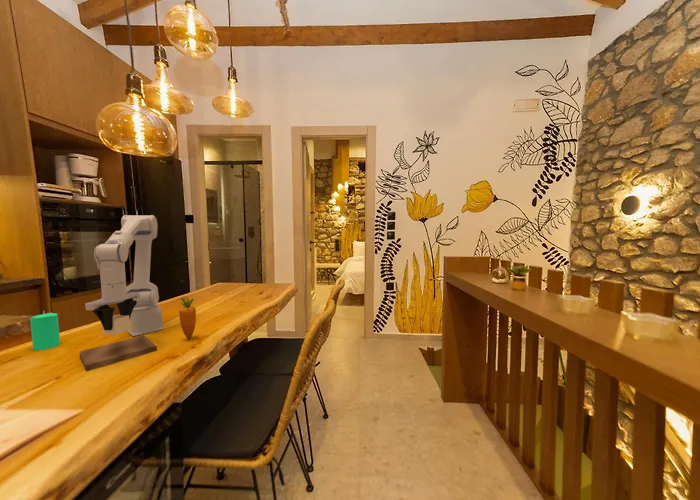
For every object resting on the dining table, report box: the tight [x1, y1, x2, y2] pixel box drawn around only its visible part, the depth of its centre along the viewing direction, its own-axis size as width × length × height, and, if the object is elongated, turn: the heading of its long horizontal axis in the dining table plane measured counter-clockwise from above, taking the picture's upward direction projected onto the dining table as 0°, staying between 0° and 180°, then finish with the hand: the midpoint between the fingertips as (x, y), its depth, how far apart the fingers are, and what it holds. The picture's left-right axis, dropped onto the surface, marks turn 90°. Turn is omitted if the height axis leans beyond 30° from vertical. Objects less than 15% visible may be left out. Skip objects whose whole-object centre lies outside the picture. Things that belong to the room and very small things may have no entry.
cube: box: [101, 314, 131, 336], centre depth 83 cm, size 4×4×4 cm
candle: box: [29, 310, 61, 351], centre depth 89 cm, size 6×6×12 cm
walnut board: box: [78, 334, 158, 372], centre depth 83 cm, size 16×14×2 cm
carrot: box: [178, 296, 197, 340], centre depth 93 cm, size 5×5×15 cm
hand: (117, 326), depth 83 cm, fingers closed on cube, 4 cm apart
